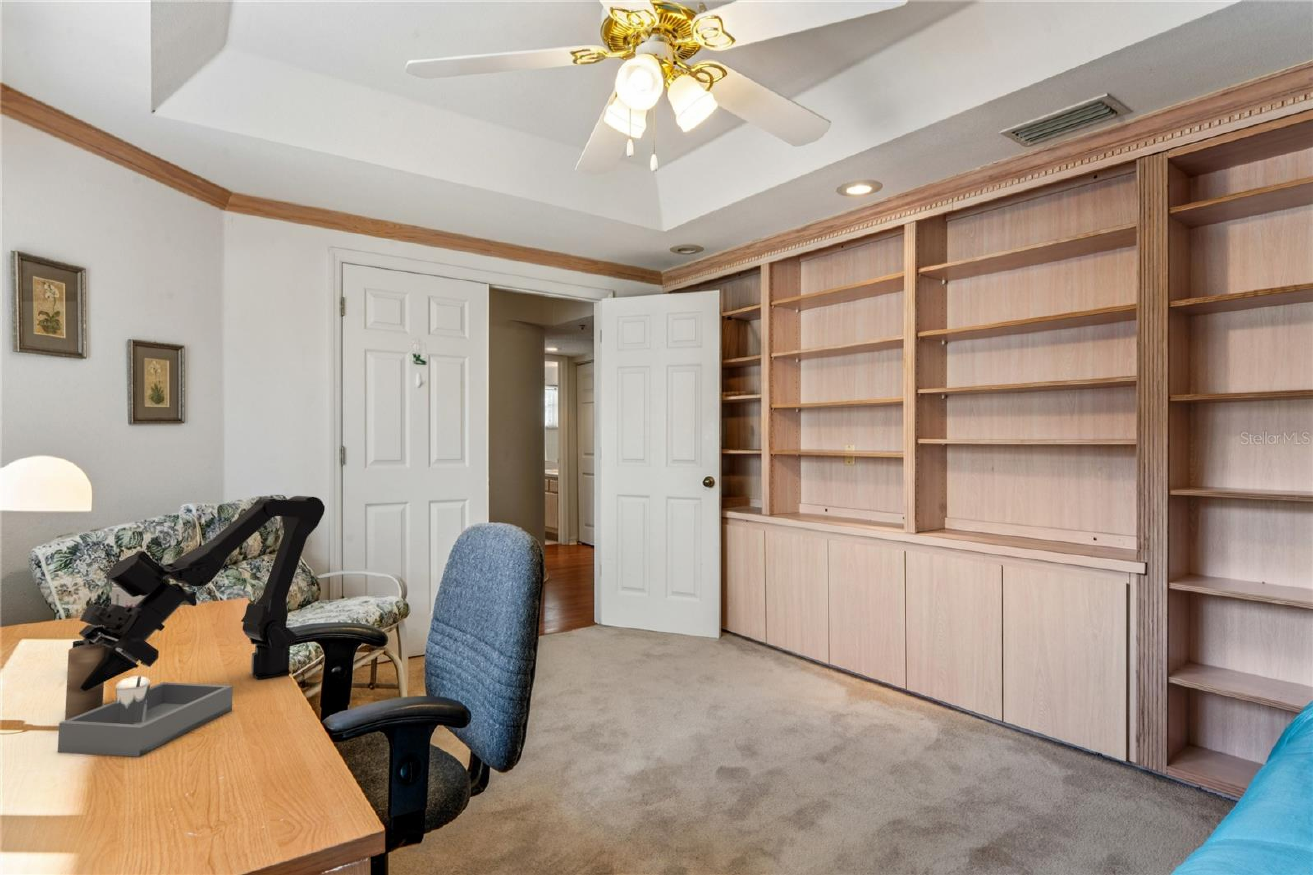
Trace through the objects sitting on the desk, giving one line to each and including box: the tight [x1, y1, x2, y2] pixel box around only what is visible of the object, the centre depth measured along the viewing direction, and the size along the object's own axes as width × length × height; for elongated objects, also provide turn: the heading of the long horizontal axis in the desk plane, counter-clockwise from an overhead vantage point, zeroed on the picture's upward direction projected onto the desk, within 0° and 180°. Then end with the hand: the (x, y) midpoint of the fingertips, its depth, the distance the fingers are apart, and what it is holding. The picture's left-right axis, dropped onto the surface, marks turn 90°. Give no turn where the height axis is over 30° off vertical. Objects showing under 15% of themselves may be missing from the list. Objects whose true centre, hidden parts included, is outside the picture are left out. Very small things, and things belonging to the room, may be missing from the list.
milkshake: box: [115, 675, 151, 725], centre depth 111 cm, size 4×5×10 cm
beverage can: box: [110, 583, 146, 607], centre depth 167 cm, size 7×6×15 cm
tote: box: [57, 681, 234, 758], centre depth 115 cm, size 20×14×4 cm
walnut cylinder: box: [64, 644, 106, 721], centre depth 117 cm, size 5×5×13 cm
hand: (75, 687), depth 116 cm, fingers closed on walnut cylinder, 5 cm apart
